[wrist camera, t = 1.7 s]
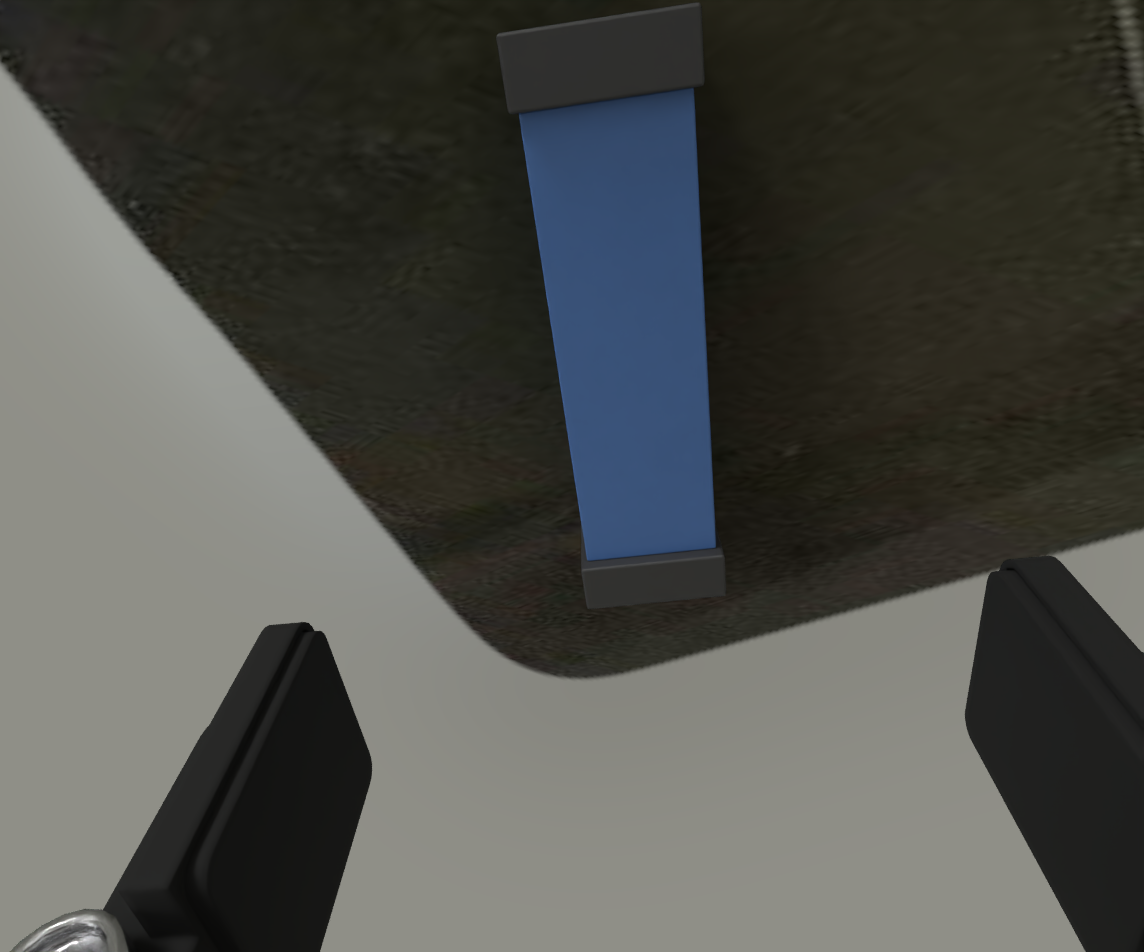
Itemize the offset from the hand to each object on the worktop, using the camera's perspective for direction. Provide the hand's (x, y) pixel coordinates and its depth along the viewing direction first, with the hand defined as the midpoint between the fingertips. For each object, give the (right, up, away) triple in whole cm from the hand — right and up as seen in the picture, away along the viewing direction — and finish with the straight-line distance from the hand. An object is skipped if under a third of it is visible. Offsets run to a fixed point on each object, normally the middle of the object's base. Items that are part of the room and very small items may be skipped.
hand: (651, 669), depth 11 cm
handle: (0, +8, +13) cm, 15 cm away
